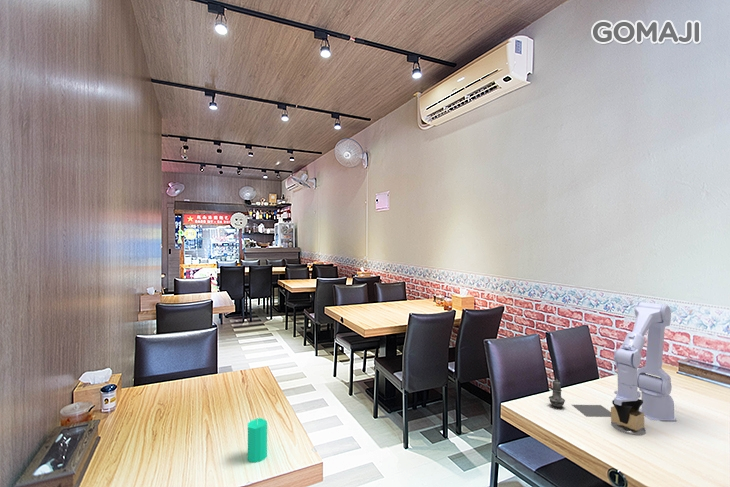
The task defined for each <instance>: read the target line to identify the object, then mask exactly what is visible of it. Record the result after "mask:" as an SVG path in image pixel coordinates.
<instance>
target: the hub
mask: <svg viewBox="0 0 730 487" xmlns="http://www.w3.org/2000/svg"><path fill="white" fill-rule="evenodd" d="M610 425H611V426H612V427H613V429H615V430H617V431H618V432H621V433H624V434H627V435H632V436H644V435H646V434H647V431H646V429H645V427H643V428H642V429H640V430H638V431H635V430H633V429H630V428H628V427H625V426H623V425H620V424H617V423H615V422H612V421H611V420H610Z"/></svg>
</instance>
